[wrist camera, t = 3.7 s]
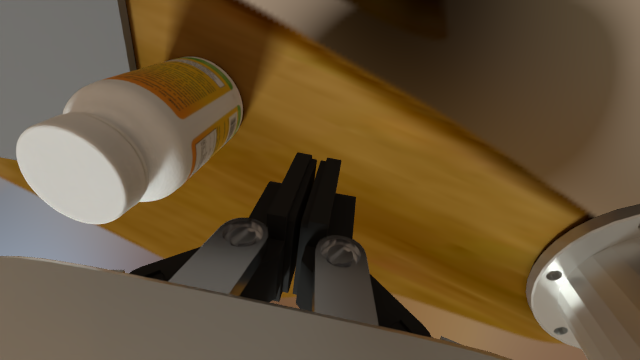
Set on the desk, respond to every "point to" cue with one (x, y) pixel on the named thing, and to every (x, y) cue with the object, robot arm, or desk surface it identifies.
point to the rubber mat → (55, 57)
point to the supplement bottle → (130, 138)
